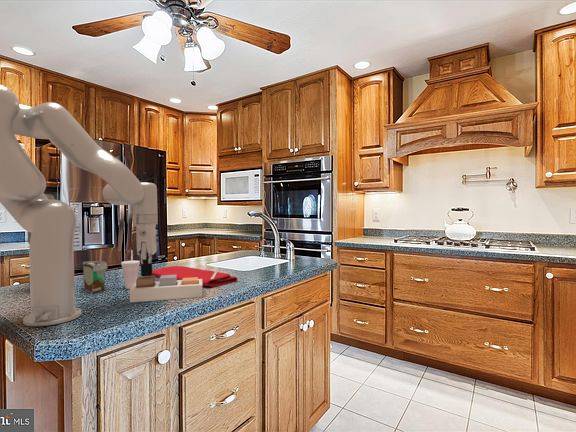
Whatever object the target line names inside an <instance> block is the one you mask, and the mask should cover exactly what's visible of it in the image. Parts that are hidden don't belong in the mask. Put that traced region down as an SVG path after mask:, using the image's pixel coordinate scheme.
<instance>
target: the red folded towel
mask: <svg viewBox="0 0 576 432" xmlns="http://www.w3.org/2000/svg"><path fill="white" fill-rule="evenodd" d="M161 275H177V280H182V279H183V278H192V277H198V279H202V287H203V286H204V287H211V288H212V287H214V288H217V287H221V286H225V285H229V283H230V284H234V283H238V277H237V276H234V275H233V276H232V275H231V274H230V273H226V272H219V271H214V270H207V269H200V268H195V267H188V266H182V265H173V266H166V267H161V268H156V269H152V275H151V276H155V278H158V279H160V277H161ZM233 282H234V283H233Z"/></svg>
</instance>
